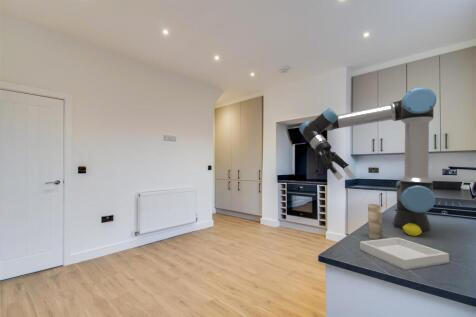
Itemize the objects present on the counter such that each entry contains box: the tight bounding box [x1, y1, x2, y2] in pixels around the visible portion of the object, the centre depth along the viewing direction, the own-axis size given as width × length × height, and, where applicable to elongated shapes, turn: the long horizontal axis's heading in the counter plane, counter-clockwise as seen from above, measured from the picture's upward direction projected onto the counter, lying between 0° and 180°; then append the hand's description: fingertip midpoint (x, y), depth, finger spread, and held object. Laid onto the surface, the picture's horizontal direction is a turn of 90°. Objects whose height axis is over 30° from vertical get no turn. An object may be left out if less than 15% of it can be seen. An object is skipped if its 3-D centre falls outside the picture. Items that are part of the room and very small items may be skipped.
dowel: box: [367, 203, 383, 240], centre depth 104 cm, size 5×5×14 cm
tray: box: [359, 236, 450, 271], centre depth 84 cm, size 18×18×3 cm
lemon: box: [402, 223, 423, 237], centre depth 107 cm, size 7×5×5 cm
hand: (347, 178), depth 114 cm, fingers open, 13 cm apart
